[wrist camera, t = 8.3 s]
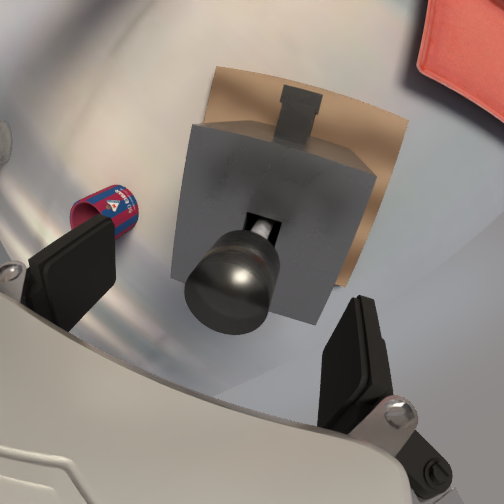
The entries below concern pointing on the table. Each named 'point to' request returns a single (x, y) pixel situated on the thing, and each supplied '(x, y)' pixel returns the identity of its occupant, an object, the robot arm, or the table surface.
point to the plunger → (235, 280)
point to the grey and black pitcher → (5, 142)
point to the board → (318, 131)
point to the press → (275, 199)
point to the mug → (107, 208)
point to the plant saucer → (466, 50)
